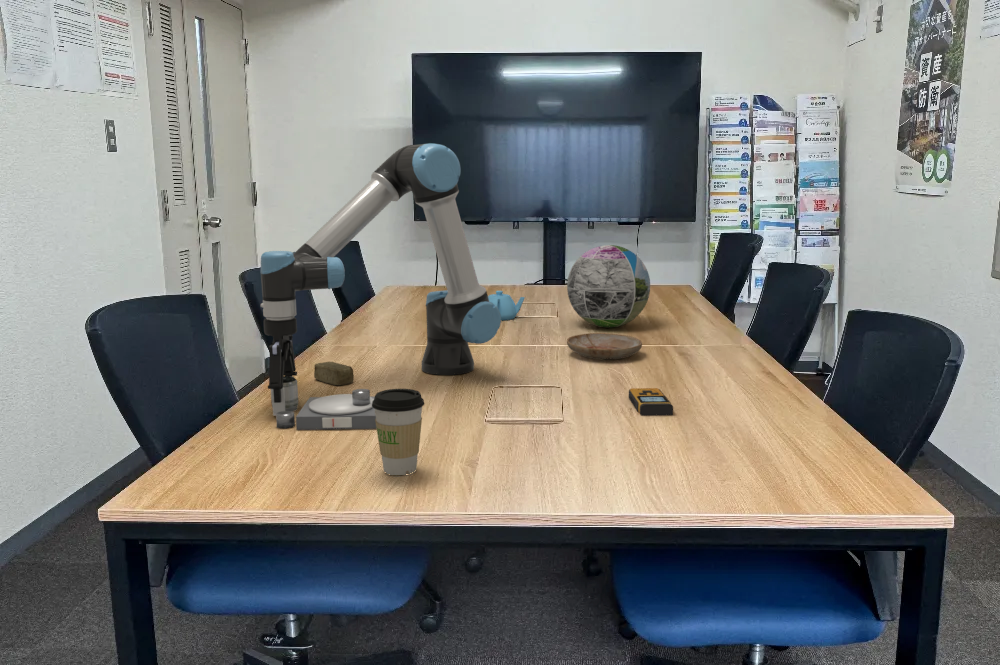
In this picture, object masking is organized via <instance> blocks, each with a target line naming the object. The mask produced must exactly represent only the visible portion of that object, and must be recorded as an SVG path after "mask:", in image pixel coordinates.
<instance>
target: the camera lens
mask: <svg viewBox="0 0 1000 665" xmlns="http://www.w3.org/2000/svg"><path fill="white" fill-rule="evenodd" d="M275 383H277V382H275ZM283 388H284V394H285V411H292V412H295V411H297V410H298V406H299V393H298V392H299V391H298V380H297V379H296V378H295V377H294V378H293V377H289V376H288V377H287V376H284V377H283ZM270 400H271V406H272V409H273V404H272V389H270Z"/></svg>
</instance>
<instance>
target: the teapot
mask: <svg viewBox="0 0 1000 665" xmlns="http://www.w3.org/2000/svg"><path fill="white" fill-rule="evenodd" d="M503 292H504V291H503V290H496V291H495V293H491V294H488V298H489V302H491V303H493V304H494V305H496V306H497V308H498V309H499V311H500V314H501V322H502V321H503V322H504V321H510V320H514V319H515V317H517V315H518V313H519V312H520V310H521V308H522V305H523V303H524V300H525V298H526V297H524V296H520V297H519V299H518V301H517V303H516V302H515V301H514V300H513V297H511V295H509V294H507V293H503Z"/></svg>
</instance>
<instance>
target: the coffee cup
mask: <svg viewBox="0 0 1000 665" xmlns="http://www.w3.org/2000/svg"><path fill="white" fill-rule="evenodd" d="M374 396H375V398H374V400H373V402H372V407H373V408H374V409H375V415H376V420H375V421H376V428H377V429H376V434H377V439H378V446H379V447H378V448H379V454H380V455H381V461H382V468H383V473H384V472H386V473H387V474H390V475H406V474H410V473H412V472H414V471H415V470H416V471H417V467H418V466H417V465H418V454H419V451H420V442H421V433H422V432H421V431H422V430H421V429H422V423H423V418H422V412H423V407H424V406H425V400H424V398H423V397H422V394H421V392H420V391H418V390H416V389H412V388H390V389H389V388H388V389H385V390H380V391H379V392H377V393H375V395H374ZM416 471H415V472H416ZM415 472H414V473H415ZM387 474H386V475H387ZM390 475H389V476H390ZM410 475H411V474H410ZM406 476H407V475H406Z"/></svg>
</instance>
